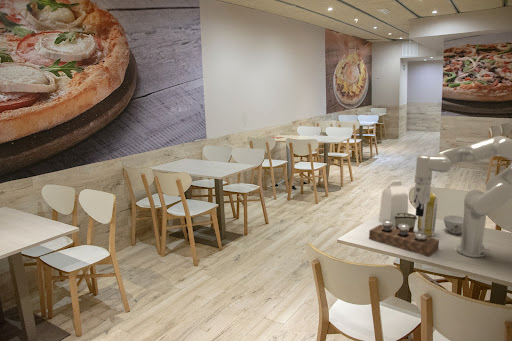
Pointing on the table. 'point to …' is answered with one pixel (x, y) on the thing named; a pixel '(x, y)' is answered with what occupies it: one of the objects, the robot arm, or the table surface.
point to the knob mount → (404, 241)
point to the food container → (405, 220)
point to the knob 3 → (420, 236)
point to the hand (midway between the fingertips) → (419, 215)
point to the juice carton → (428, 217)
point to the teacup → (454, 223)
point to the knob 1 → (387, 225)
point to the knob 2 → (403, 230)
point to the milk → (393, 201)
